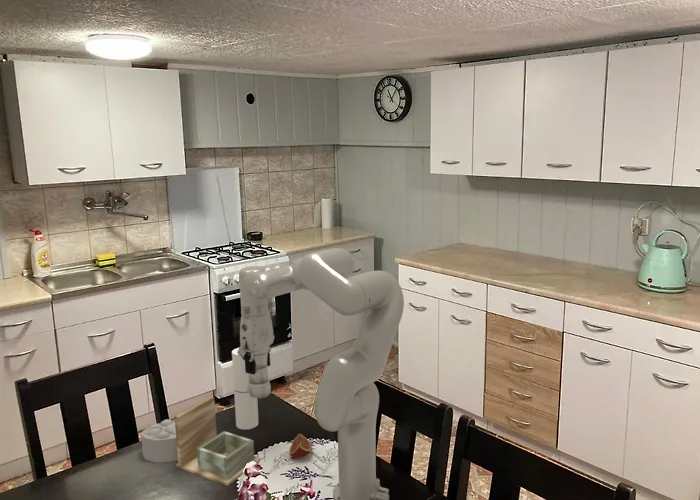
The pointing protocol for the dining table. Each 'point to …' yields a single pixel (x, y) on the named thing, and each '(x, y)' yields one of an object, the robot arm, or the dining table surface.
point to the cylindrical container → (243, 395)
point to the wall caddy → (210, 445)
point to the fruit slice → (300, 447)
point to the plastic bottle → (259, 375)
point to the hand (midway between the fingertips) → (258, 368)
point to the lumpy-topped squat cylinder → (160, 442)
